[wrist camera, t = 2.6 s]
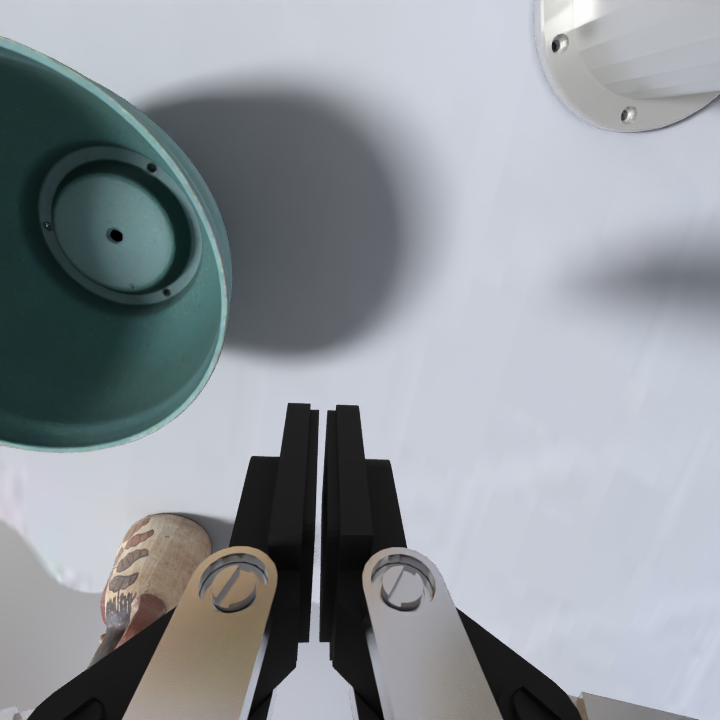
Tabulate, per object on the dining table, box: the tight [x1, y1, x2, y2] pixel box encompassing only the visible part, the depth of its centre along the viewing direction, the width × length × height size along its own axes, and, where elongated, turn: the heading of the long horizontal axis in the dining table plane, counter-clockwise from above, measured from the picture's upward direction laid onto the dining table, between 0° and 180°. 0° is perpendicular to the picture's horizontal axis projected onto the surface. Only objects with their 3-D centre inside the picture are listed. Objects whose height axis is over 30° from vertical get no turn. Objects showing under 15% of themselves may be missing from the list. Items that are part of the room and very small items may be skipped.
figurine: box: [87, 514, 211, 669], centre depth 32 cm, size 7×7×12 cm
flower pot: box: [0, 36, 232, 453], centre depth 22 cm, size 16×16×11 cm
